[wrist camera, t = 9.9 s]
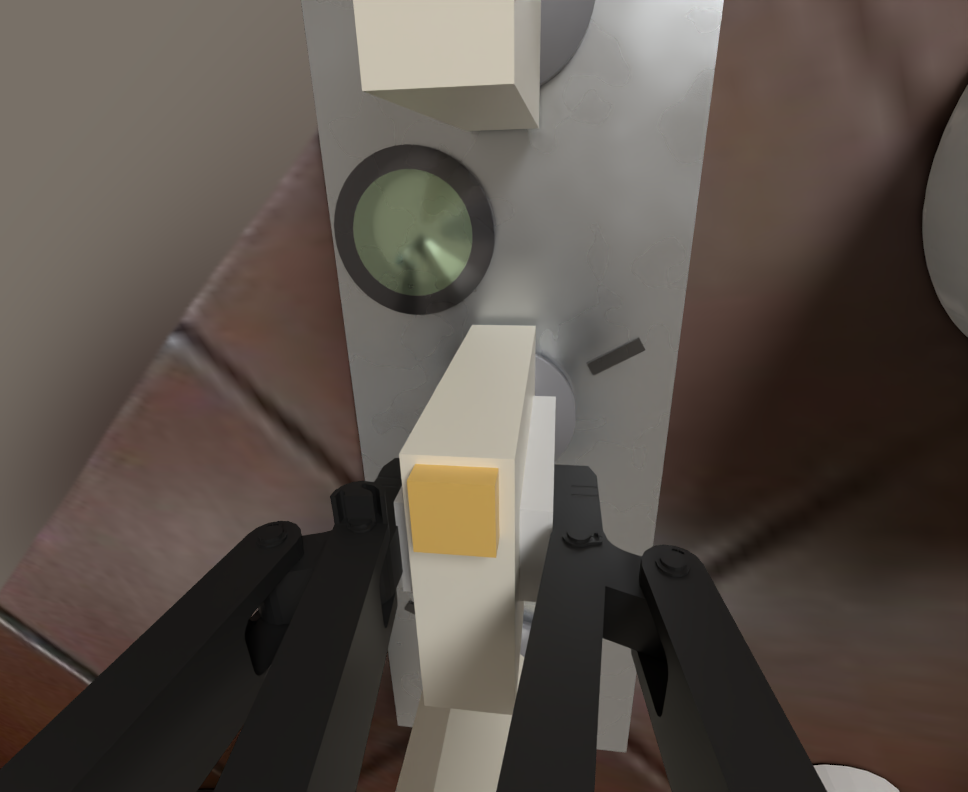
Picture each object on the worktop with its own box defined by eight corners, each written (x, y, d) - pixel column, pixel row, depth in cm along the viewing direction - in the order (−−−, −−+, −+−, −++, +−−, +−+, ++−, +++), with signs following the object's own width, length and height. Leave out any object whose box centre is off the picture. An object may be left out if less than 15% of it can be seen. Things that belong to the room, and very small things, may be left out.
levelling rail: (402, 711, 29) (394, 736, 28) (278, -260, 14) (250, -303, 13) (624, 736, 27) (627, 764, 26) (757, -328, 12) (780, -386, 11)
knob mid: (443, 486, 22) (356, 722, 12) (432, 320, 19) (310, 466, 10) (571, 493, 21) (579, 748, 12) (580, 322, 18) (599, 481, 9)
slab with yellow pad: (518, 720, 27) (496, 1011, 17) (419, 638, 25) (338, 906, 16) (598, 678, 25) (620, 979, 16) (495, 587, 23) (453, 859, 14)
